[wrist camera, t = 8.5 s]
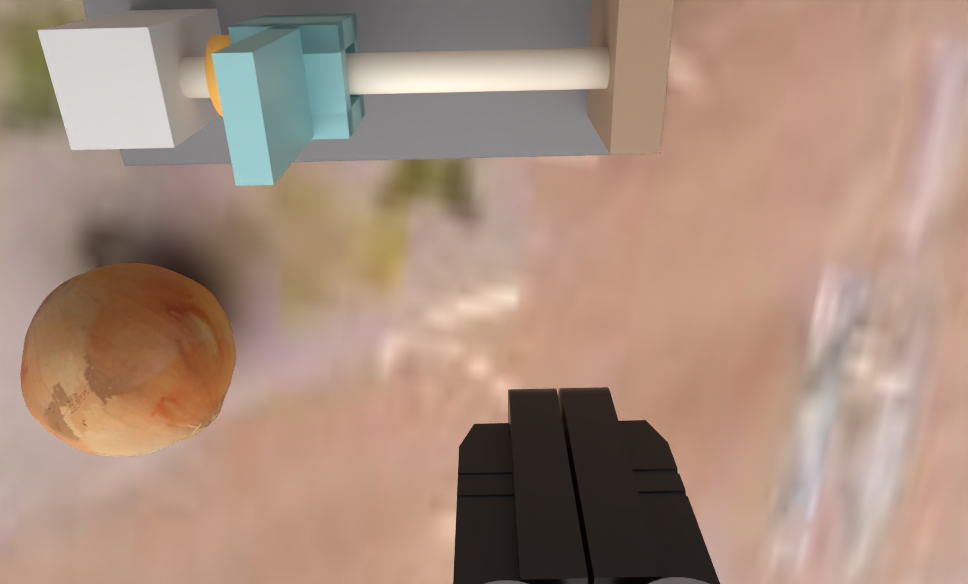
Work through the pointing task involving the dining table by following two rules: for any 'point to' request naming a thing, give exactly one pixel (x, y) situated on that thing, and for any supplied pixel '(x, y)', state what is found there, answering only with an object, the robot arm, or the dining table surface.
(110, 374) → the onion
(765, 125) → the dining table surface
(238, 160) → the light blue bracket block
